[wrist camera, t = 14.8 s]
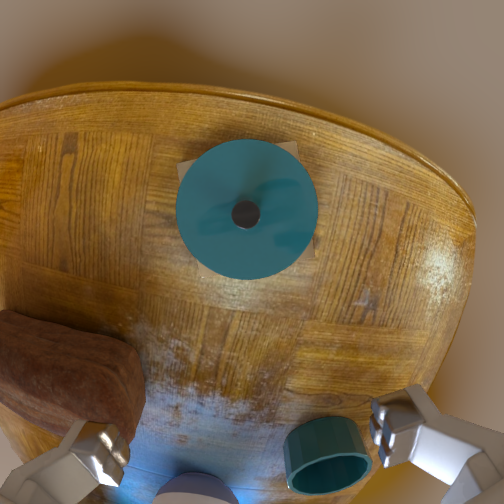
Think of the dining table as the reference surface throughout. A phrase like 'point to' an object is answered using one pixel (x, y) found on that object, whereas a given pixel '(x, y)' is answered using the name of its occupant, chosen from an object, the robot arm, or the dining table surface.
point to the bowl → (195, 490)
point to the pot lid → (246, 209)
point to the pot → (325, 456)
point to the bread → (68, 376)
